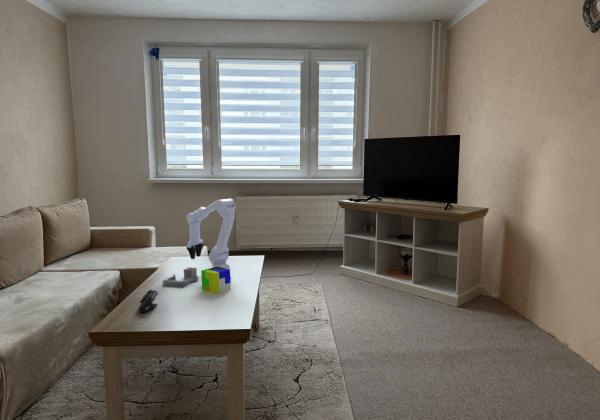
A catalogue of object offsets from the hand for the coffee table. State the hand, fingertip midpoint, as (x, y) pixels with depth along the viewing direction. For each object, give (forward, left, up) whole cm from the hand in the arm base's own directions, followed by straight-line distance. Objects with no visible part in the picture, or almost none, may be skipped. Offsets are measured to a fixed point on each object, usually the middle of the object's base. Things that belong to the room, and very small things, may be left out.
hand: (195, 257), depth 235 cm
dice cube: (-3, +6, -10) cm, 12 cm away
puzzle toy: (-32, +12, -10) cm, 36 cm away
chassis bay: (-7, +16, -9) cm, 20 cm away
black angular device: (-30, +48, -10) cm, 58 cm away
